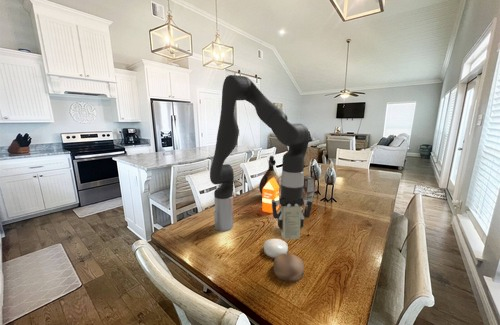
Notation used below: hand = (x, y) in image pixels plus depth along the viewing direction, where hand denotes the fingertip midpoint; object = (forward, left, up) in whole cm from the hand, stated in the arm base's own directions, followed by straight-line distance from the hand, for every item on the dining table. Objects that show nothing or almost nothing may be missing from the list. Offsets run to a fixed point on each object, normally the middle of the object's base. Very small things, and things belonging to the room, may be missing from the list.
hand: (290, 227), depth 74 cm
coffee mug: (+11, +33, -18) cm, 39 cm away
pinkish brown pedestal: (0, 0, -17) cm, 17 cm away
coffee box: (+27, +68, -18) cm, 75 cm away
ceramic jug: (+2, +74, -18) cm, 76 cm away
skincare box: (0, 0, -3) cm, 3 cm away
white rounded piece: (-3, +12, -17) cm, 21 cm away
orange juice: (0, +53, -18) cm, 56 cm away
